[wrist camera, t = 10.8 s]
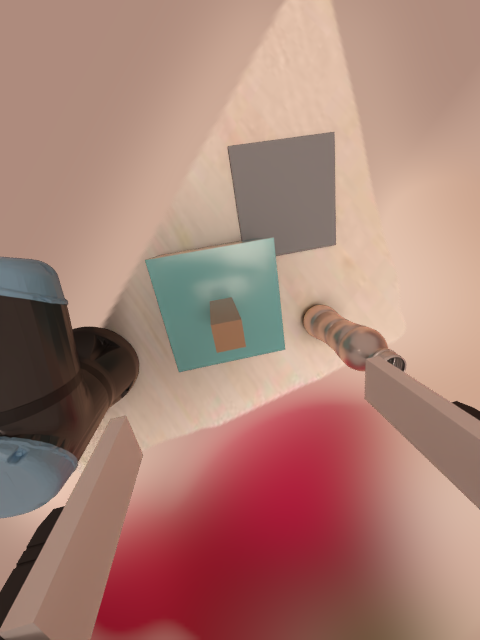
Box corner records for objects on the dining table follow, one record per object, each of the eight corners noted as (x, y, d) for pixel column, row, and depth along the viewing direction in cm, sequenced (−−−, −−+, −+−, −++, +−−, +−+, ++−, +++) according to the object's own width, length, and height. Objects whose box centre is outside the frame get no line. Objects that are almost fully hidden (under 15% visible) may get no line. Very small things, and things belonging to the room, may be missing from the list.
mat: (244, 261, 40) (245, 261, 39) (227, 147, 34) (227, 146, 34) (334, 244, 41) (335, 244, 41) (333, 132, 36) (334, 131, 35)
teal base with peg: (185, 340, 43) (169, 417, 24) (162, 254, 37) (116, 269, 19) (266, 324, 44) (310, 385, 25) (256, 238, 38) (302, 236, 20)
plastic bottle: (311, 339, 47) (383, 402, 28) (293, 317, 45) (357, 369, 26) (336, 318, 46) (425, 369, 28) (318, 295, 44) (403, 333, 25)
